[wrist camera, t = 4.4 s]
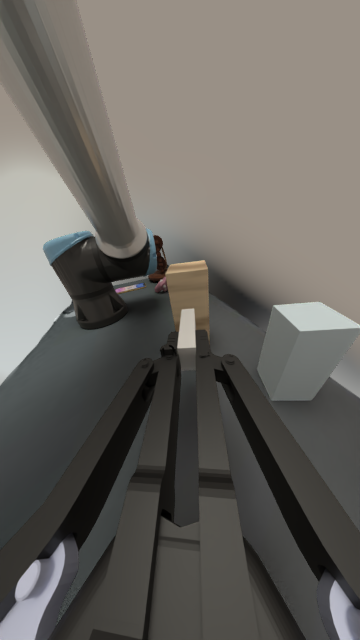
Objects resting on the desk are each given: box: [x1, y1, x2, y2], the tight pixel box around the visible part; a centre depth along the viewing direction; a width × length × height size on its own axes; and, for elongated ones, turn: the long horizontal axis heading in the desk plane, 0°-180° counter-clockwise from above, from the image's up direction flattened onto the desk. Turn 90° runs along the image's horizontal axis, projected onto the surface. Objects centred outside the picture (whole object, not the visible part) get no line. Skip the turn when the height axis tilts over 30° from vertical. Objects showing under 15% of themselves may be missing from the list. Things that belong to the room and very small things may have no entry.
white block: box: [257, 302, 360, 401], centre depth 18 cm, size 5×5×12 cm
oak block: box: [165, 260, 210, 345], centre depth 27 cm, size 6×6×16 cm
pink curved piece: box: [155, 277, 168, 293], centre depth 59 cm, size 10×5×7 cm, turn 137°
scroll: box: [148, 235, 168, 283], centre depth 70 cm, size 15×15×20 cm
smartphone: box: [115, 283, 146, 294], centre depth 68 cm, size 8×15×1 cm, turn 109°
